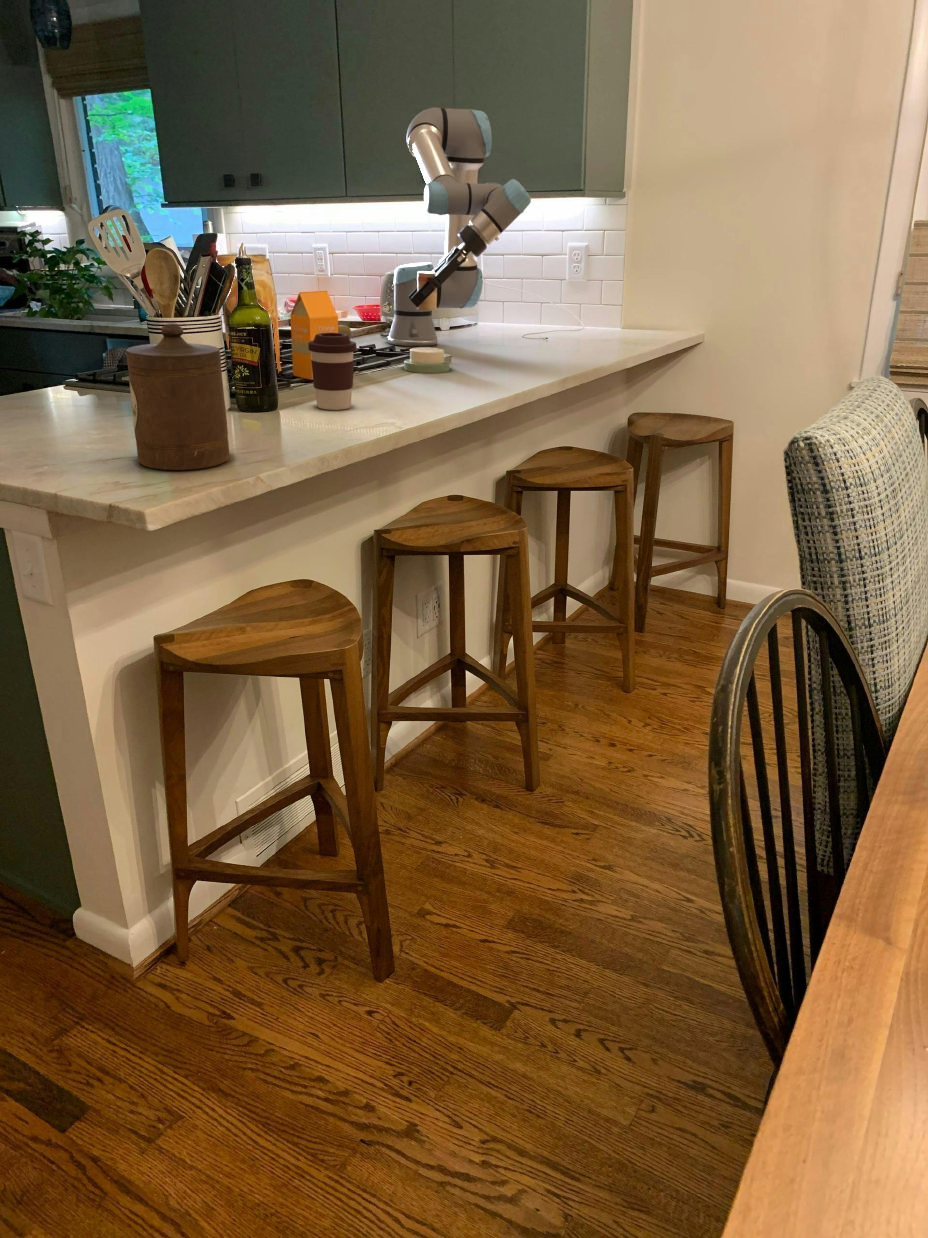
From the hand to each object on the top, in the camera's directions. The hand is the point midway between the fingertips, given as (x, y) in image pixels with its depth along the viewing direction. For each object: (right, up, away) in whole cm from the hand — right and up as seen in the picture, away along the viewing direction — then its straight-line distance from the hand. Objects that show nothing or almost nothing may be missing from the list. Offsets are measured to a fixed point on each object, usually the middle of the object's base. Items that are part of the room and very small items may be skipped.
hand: (412, 301), depth 240 cm
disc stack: (+3, -15, +8) cm, 17 cm away
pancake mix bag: (-39, -21, -7) cm, 45 cm away
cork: (-19, -17, +3) cm, 25 cm away
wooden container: (-34, -55, -82) cm, 105 cm away
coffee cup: (-15, -36, -40) cm, 56 cm away
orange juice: (-24, -21, -6) cm, 32 cm away
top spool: (+4, -1, +1) cm, 4 cm away
